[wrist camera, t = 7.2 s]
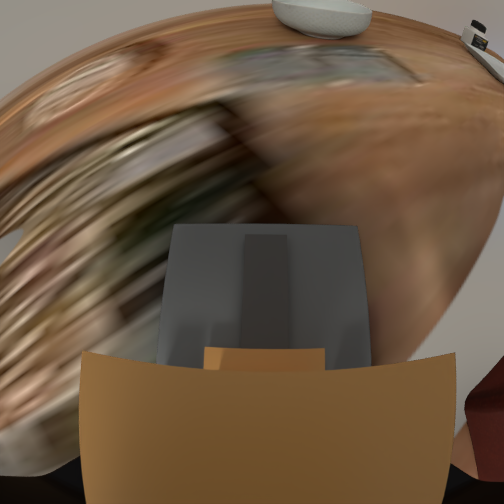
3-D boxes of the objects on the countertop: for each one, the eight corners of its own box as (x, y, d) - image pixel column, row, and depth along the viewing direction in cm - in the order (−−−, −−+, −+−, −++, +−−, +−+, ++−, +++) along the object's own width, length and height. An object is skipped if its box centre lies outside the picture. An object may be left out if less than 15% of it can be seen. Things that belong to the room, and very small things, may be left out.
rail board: (362, 459, 12) (367, 464, 11) (159, 456, 12) (153, 461, 11) (353, 233, 18) (357, 225, 17) (177, 231, 19) (174, 224, 18)
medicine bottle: (469, 47, 47) (478, 22, 36) (460, 39, 50) (467, 15, 39) (483, 55, 47) (492, 31, 36) (473, 46, 50) (481, 23, 39)
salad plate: (496, 83, 36) (500, 74, 33) (460, 47, 45) (462, 39, 42) (536, 109, 35) (540, 102, 31) (502, 71, 44) (505, 64, 40)
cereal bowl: (329, 20, 40) (332, -7, 34) (385, 50, 33) (392, 18, 27) (256, 24, 38) (255, -8, 31) (304, 51, 31) (307, 10, 25)
